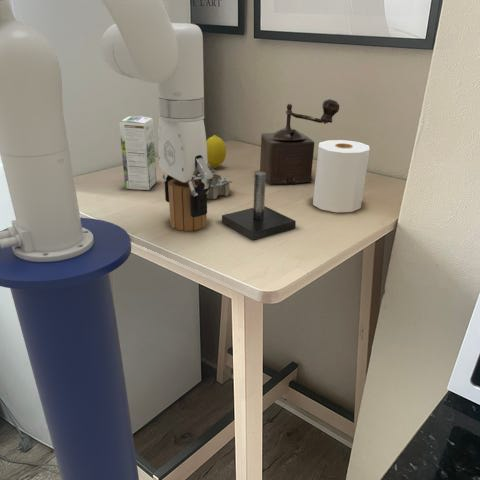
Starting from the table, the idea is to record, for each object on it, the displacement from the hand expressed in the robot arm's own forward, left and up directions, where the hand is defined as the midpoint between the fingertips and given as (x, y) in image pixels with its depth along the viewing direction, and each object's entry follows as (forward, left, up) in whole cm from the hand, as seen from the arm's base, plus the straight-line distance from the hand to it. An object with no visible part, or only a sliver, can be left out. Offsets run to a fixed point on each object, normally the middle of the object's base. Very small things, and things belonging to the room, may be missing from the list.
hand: (185, 207), depth 93 cm
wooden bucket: (0, 0, -3) cm, 3 cm away
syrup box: (+3, +25, -4) cm, 25 cm away
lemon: (+25, +28, -4) cm, 38 cm away
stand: (+11, -8, -3) cm, 14 cm away
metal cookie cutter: (+12, +12, -4) cm, 17 cm away
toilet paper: (+32, -8, -4) cm, 33 cm away
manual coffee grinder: (+37, +11, -4) cm, 39 cm away
